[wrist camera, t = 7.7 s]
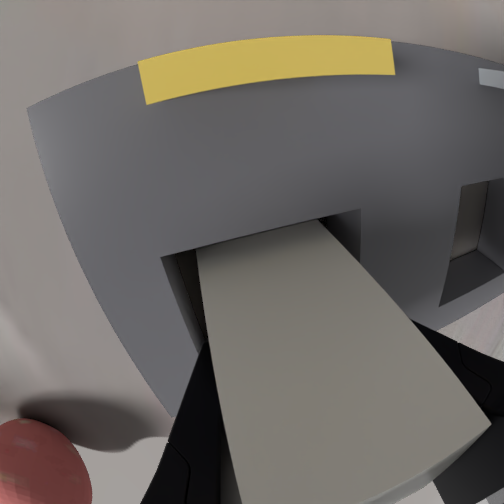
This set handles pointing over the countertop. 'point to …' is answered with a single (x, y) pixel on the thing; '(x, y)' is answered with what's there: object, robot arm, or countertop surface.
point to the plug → (325, 375)
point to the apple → (40, 466)
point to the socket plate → (275, 174)
